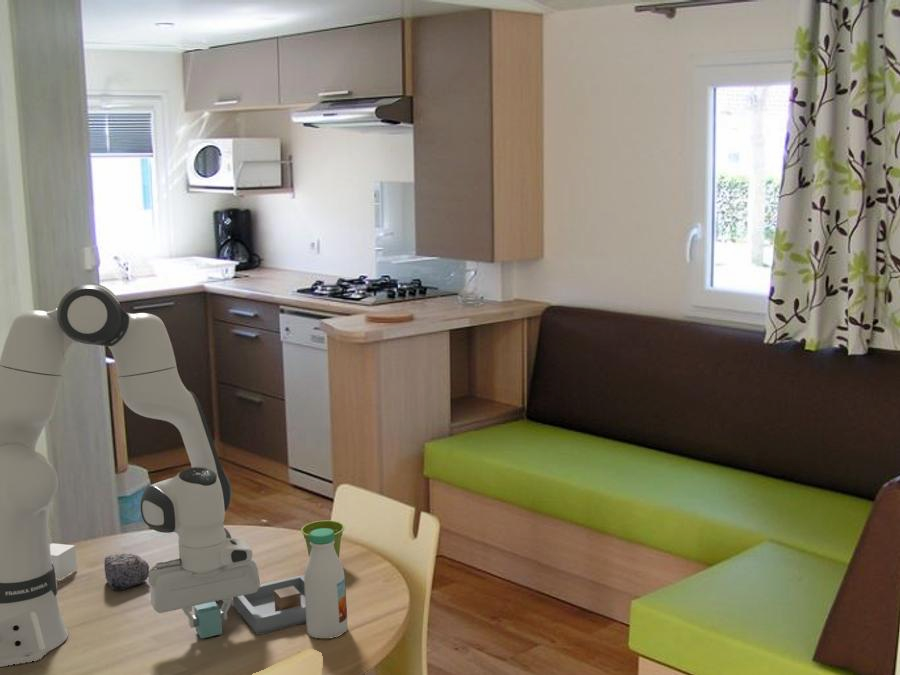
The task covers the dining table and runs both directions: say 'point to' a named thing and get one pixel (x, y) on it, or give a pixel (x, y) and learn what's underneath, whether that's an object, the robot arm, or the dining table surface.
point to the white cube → (63, 559)
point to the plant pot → (328, 524)
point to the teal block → (208, 619)
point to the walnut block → (286, 598)
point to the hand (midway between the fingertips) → (208, 622)
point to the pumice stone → (125, 570)
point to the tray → (271, 606)
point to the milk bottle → (324, 587)
